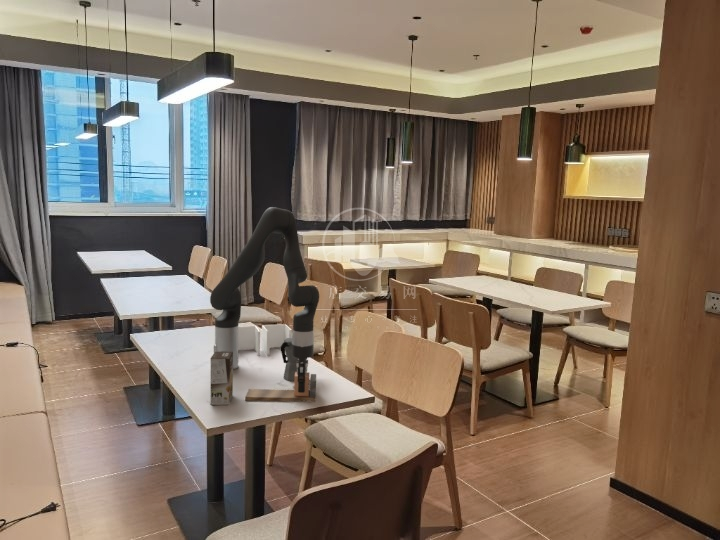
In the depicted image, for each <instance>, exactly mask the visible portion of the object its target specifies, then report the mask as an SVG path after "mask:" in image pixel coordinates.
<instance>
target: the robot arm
mask: <svg viewBox="0 0 720 540" xmlns="http://www.w3.org/2000/svg"><path fill="white" fill-rule="evenodd" d="M271 234H279V235H282V236H283V239H284V240H285V250H284V252H283V257H282V262H283V268H284V271H285V274H286V277H287V285H288V288H287V289H288V292H287V293H288V294H287V295H288V296H287V297H288V302H289V303H290V305H292V306H293V307H296V308H297V307H298V308H300V307H301V308H302V307H303V309H302V310H301V311H299V312H295V313H294V315H293V318H292V320H293V321H292V356H293V357H297V358H299V360H297V364H296V366H297V375H298V380H297V381H298V392H299V393H304V392H305V381H306V380H305V376H306V375H307V372H308V366H309V358H312V357H313V356H314V342H315V341H314V340H315V336H314V320H315V319H314V318H315V314H316V311H317V307H318V304H319V301H320V291H319V289H318V288H317V286H315V285H311V284H310V285H309V284H308V285H300V284H302V283H304V282H306V280H307V279H308V271H307V269H306V266H305V263H304V260H303V257H302V256H303V255H302V254H301V248H300V241H299V233H298V228H297V221H296V217H295V215H294V213H293V212H292V211H291V210H289V209H284V208H279V207H275V206H274V207H273V206H271V207H268V208H267V209H265V211H264V212H263V214H262V215H261V217H260V219H259V221H258V223H257V225H256V227H255V229H254V231H253V233H252V235H251V236H250V238H249V239H248V241H247V243H246V244H245V245H244V247H243V249H242V250H241V251H240V252H239V255H238V256H237V257H236V259H235V261H234V262H233V264H232V265H231V266H230V268H229V269H228V271H227V272H226V273H225V275H224V277H222V279H221V280H220V281H219V283H218V284H217V285H216V286H214V288H213V290H212V292H211V293H210V297H209V302H210V305H211V307H212V308H213V309H214V310H215V311H222V312H221V313H220V314H219V315H218V316H217V317H216V318H214V319H215V320H214V345H213V354H214V353H215V352H221V351H230V352H233V370H235V369H237V368H238V367H239V350H238V327H239V322H240V319H241V312H242V293H241V291H240V288H239V287H240V286H242V285H243V284H244V283H247V281H248V280H250V279H251V278H253V277H254V276H255V275H256V274H257V272H258V271H259V270H260V268H261V267H262V265H263V264H264V262H265V259H266V257H265V256H266V250H265V249H266V248H265V243H266V242H267V240H268V238H269V237H270V236H271ZM300 377H304V379H300Z"/></svg>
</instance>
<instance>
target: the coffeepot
mask: <svg viewBox="0 0 720 540" xmlns="http://www.w3.org/2000/svg"><path fill="white" fill-rule="evenodd" d="M280 353H281V357H282V361H283V363H284V364H285V367H284V368H285V369H284V373H283V379H284V380H285V381H288V382H294V378H295V372H297V366H296V364H297V360H299V358H297V357H293V356H292V338H287V339H285V340H284V343H283V344H282V345H281V347H280Z"/></svg>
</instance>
